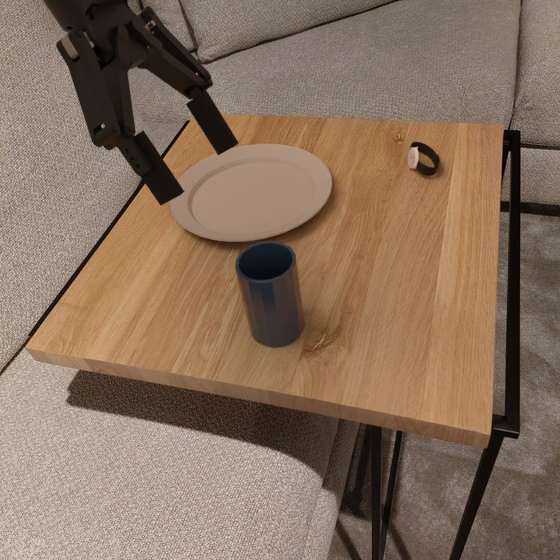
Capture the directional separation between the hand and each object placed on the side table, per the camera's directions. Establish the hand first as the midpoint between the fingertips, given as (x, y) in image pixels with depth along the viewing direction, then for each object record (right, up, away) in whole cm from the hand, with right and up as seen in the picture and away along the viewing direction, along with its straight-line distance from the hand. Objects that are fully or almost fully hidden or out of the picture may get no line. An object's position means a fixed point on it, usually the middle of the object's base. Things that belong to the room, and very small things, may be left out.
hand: (203, 172), depth 60 cm
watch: (+31, +7, +33) cm, 46 cm away
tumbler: (+8, -17, +12) cm, 22 cm away
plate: (+4, +2, +33) cm, 33 cm away
